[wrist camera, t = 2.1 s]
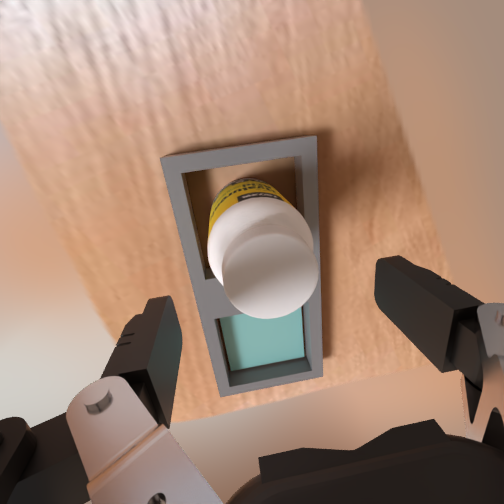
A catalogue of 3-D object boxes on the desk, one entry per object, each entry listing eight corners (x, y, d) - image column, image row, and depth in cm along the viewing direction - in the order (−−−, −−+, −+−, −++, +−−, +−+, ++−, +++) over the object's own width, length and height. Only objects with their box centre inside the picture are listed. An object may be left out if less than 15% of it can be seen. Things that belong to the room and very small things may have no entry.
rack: (164, 155, 18) (159, 158, 16) (307, 135, 18) (316, 135, 17) (219, 380, 26) (220, 397, 25) (316, 361, 27) (323, 376, 25)
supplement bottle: (268, 163, 19) (318, 193, 10) (292, 232, 21) (350, 306, 12) (196, 194, 19) (181, 250, 10) (227, 259, 21) (237, 351, 12)
